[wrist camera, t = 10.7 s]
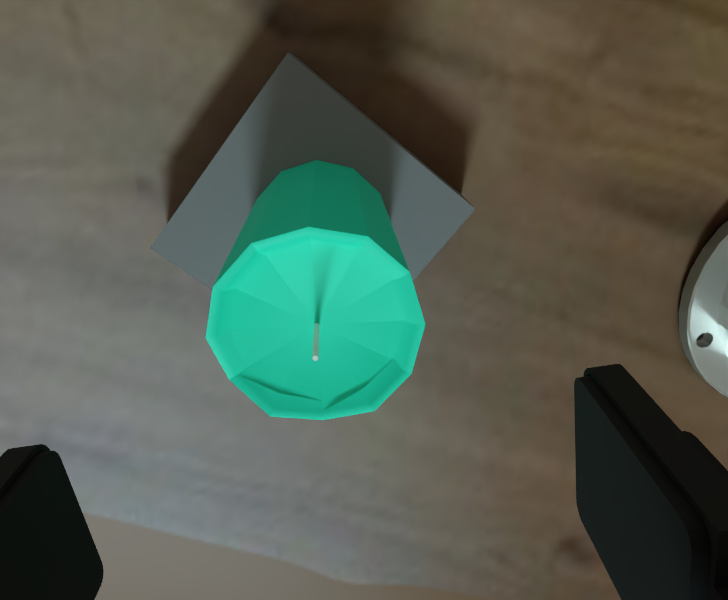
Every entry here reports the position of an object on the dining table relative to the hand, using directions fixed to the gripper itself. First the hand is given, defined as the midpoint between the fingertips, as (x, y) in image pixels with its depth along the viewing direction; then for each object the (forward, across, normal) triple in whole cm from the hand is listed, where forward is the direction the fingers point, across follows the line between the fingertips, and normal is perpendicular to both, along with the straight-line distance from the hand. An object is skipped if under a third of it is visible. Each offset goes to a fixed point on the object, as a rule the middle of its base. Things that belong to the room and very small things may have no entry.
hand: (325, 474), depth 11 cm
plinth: (+20, +1, 0) cm, 20 cm away
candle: (+17, +1, 0) cm, 17 cm away
